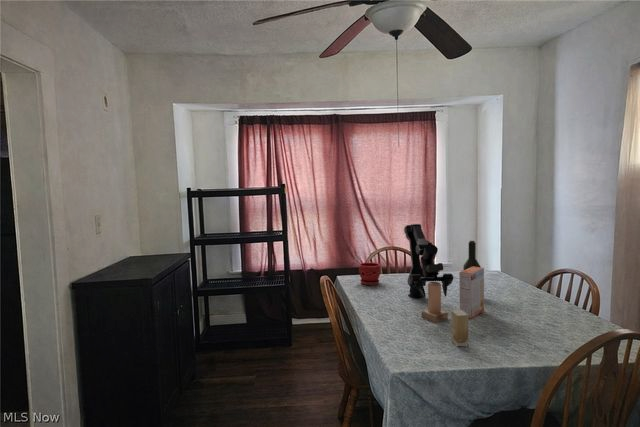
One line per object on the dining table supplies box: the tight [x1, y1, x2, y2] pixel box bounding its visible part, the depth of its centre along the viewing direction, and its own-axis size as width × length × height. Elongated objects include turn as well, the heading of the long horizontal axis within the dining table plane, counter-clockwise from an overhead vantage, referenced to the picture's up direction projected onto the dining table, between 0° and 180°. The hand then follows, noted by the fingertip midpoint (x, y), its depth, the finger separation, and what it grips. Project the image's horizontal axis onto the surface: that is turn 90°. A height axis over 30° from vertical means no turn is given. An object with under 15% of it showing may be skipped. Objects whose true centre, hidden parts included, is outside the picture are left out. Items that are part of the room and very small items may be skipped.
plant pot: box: [358, 262, 382, 286], centre depth 233 cm, size 13×13×12 cm
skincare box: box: [450, 309, 470, 347], centre depth 143 cm, size 6×4×12 cm
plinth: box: [421, 309, 449, 323], centre depth 171 cm, size 8×8×3 cm
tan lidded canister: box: [427, 281, 442, 314], centre depth 170 cm, size 6×6×13 cm
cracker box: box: [459, 266, 485, 320], centre depth 174 cm, size 14×6×21 cm, turn 134°
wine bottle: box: [463, 240, 482, 270], centre depth 198 cm, size 8×8×30 cm
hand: (435, 296), depth 169 cm, fingers open, 9 cm apart
